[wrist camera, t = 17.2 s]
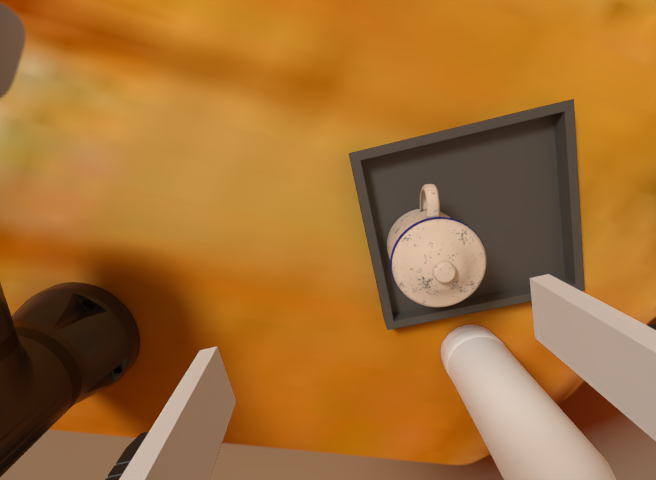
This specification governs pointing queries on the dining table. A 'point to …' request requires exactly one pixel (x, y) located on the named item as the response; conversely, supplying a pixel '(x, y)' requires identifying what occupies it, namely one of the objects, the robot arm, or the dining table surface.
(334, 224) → the dining table surface
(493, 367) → the bottle
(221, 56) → the dining table surface
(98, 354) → the robot arm
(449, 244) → the teacup with lid
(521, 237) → the serving tray
